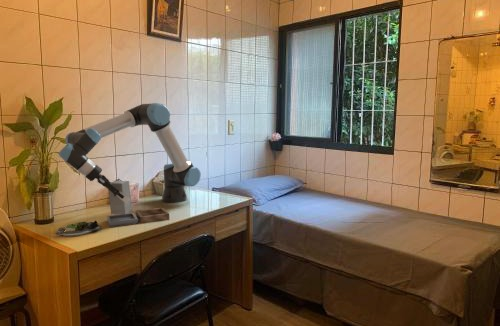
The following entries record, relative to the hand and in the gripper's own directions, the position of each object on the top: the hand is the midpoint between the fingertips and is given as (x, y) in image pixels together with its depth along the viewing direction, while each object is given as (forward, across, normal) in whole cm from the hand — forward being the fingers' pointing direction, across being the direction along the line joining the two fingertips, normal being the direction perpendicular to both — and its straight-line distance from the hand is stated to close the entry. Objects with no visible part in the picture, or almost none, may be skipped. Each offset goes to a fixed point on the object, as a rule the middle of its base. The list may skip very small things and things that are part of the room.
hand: (126, 199), depth 185 cm
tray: (+6, 0, -10) cm, 12 cm away
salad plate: (-7, +5, -24) cm, 25 cm away
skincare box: (+2, 0, -7) cm, 7 cm away
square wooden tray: (+17, -1, +1) cm, 17 cm away
